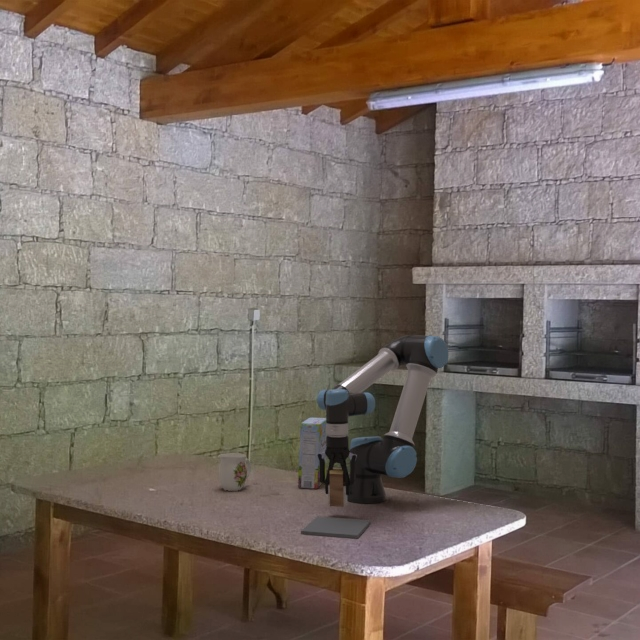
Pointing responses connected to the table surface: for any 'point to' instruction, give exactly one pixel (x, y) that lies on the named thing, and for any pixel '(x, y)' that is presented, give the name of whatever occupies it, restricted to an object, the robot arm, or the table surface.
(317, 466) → the snack box
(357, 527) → the mat
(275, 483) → the table surface
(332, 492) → the post
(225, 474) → the pitcher
